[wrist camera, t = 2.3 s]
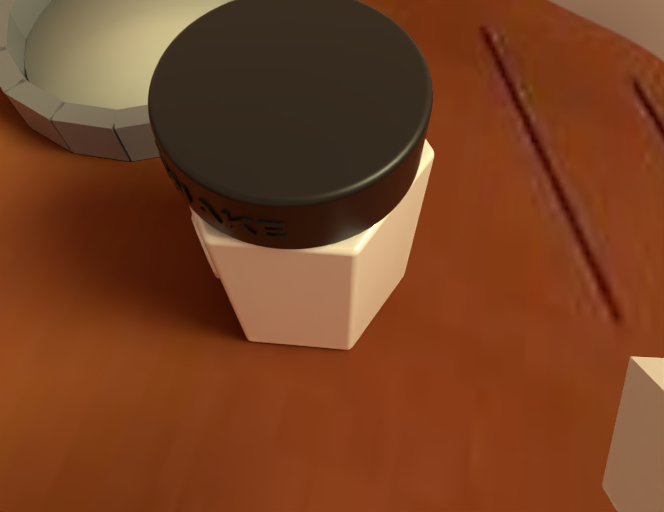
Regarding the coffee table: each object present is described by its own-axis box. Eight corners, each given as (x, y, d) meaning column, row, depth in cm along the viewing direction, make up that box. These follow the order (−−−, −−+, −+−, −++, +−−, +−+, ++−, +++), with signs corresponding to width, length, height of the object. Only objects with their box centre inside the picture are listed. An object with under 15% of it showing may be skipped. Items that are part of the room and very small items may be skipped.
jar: (196, 225, 27) (107, 24, 17) (346, 168, 29) (350, -50, 18) (262, 390, 24) (201, 267, 13) (430, 315, 25) (498, 149, 15)
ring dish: (-51, 78, 32) (-81, 42, 30) (141, -72, 38) (128, -111, 36) (166, 209, 28) (151, 179, 26) (342, 17, 34) (343, -21, 32)
